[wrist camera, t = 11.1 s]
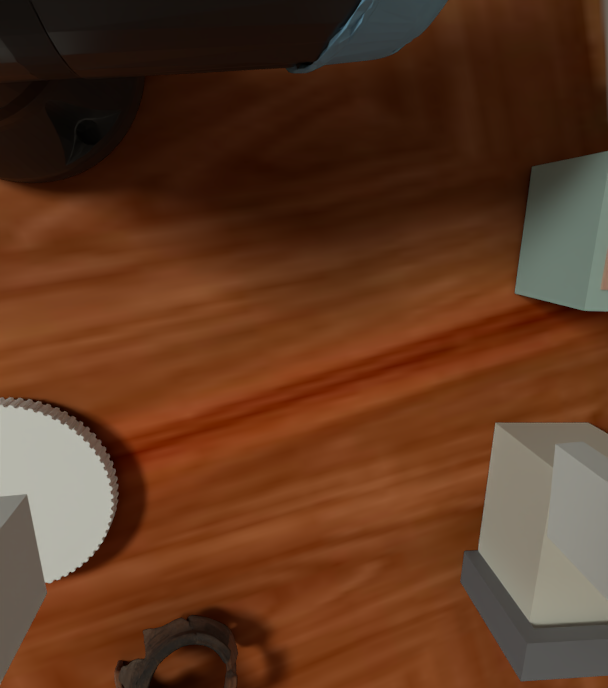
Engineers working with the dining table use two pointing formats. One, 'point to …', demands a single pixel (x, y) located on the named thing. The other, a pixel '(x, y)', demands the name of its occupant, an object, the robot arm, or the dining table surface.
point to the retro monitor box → (567, 234)
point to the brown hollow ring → (170, 638)
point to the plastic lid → (57, 481)
